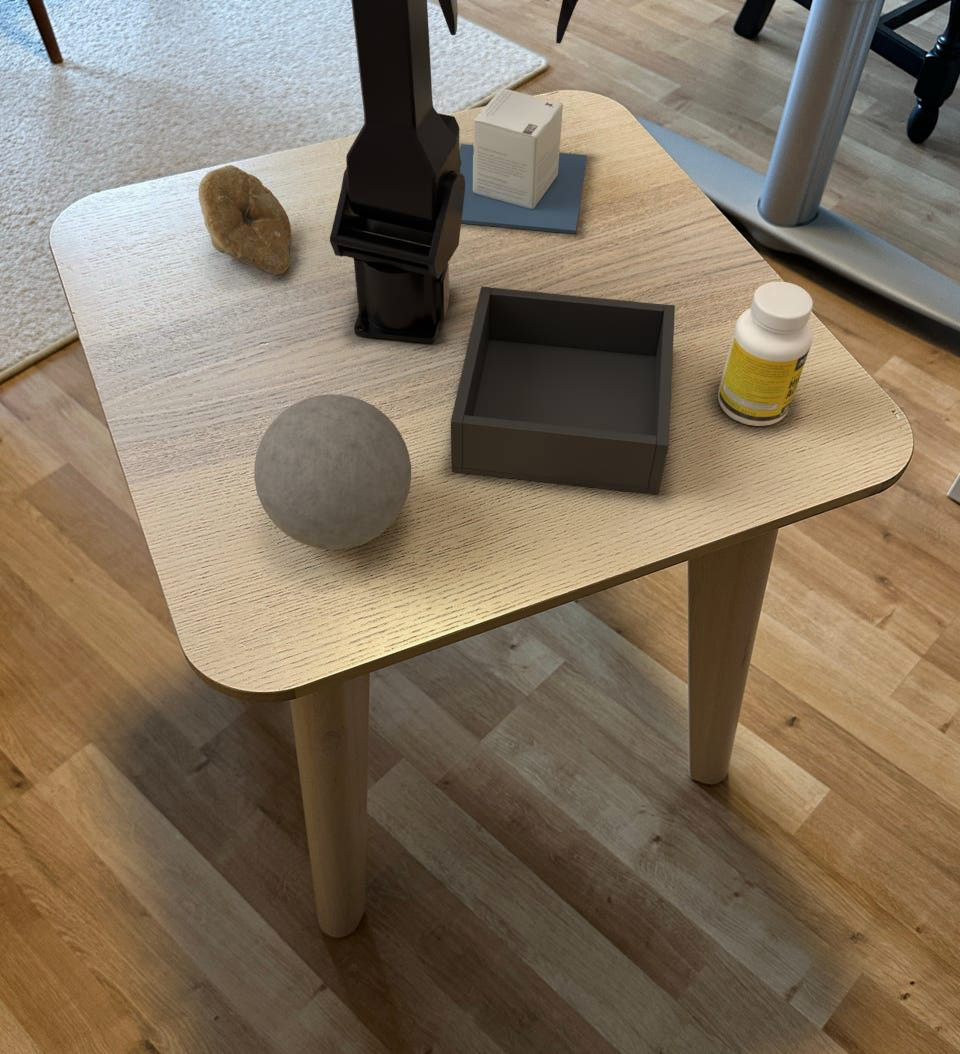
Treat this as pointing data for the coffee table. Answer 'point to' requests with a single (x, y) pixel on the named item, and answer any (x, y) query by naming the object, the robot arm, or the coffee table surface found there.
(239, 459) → the coffee table surface
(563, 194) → the mat
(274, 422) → the decorative ball
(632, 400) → the bin
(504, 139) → the product carton
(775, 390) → the supplement bottle
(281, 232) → the fossil
